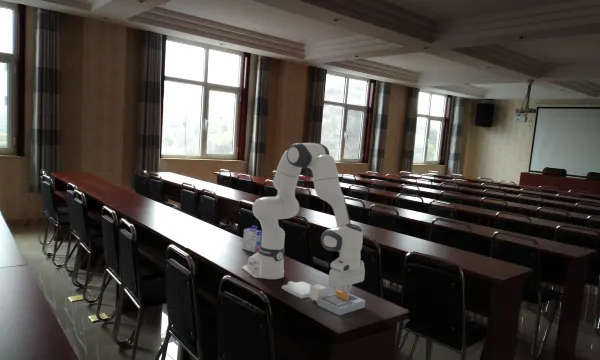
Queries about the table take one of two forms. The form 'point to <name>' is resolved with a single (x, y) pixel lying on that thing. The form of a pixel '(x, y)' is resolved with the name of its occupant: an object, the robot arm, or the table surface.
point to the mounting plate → (298, 289)
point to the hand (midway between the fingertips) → (345, 294)
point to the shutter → (338, 298)
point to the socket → (342, 305)
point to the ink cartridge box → (252, 239)
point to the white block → (317, 292)
